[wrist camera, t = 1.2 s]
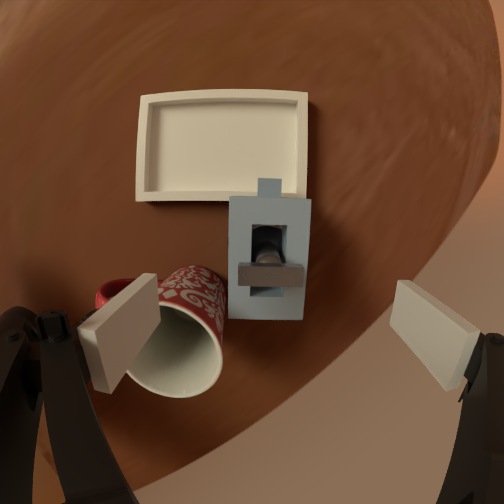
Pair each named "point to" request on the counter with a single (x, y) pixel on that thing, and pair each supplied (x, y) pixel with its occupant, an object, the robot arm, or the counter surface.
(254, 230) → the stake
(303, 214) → the windowed blue block
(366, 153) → the counter surface
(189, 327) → the mug
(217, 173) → the tray
